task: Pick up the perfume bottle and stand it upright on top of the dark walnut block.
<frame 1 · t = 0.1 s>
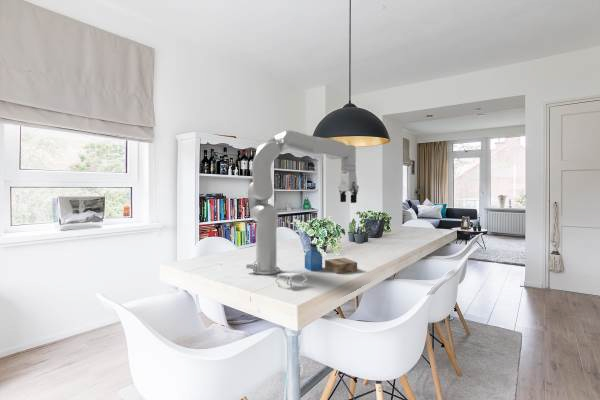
hand: (348, 202, 172), 31 cm above the table, fingers open, 9 cm apart
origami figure: (292, 286, 132), on the table
walnut block: (340, 269, 157), on the table
perfume bottle: (313, 269, 159), on the table
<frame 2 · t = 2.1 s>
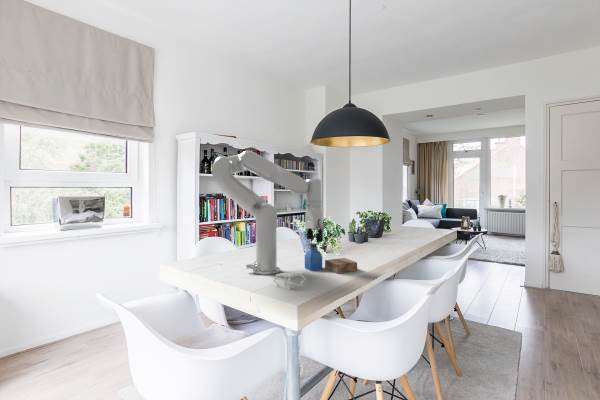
hand: (314, 240, 159), 14 cm above the table, fingers open, 9 cm apart
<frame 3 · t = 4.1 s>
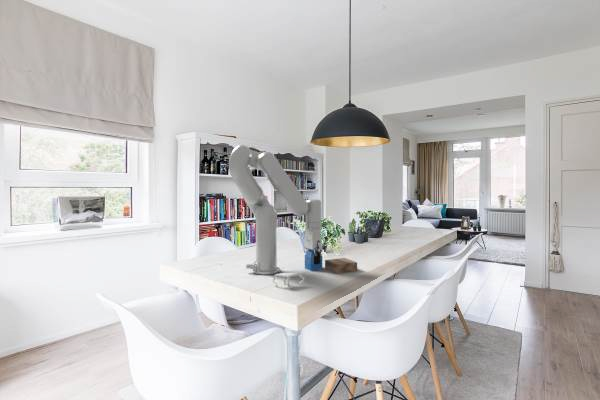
hand: (313, 262, 159), 3 cm above the table, fingers closed on perfume bottle, 6 cm apart
perfume bottle: (313, 269, 159), on the table, touching gripper
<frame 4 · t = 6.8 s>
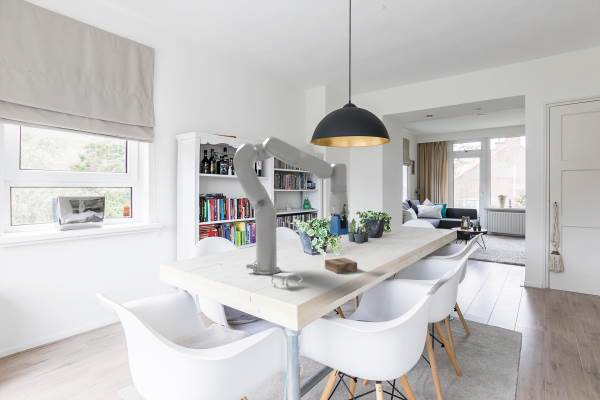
hand: (339, 227, 157), 20 cm above the table, fingers closed on perfume bottle, 6 cm apart
perfume bottle: (339, 234, 157), point 17 cm above the table, touching gripper
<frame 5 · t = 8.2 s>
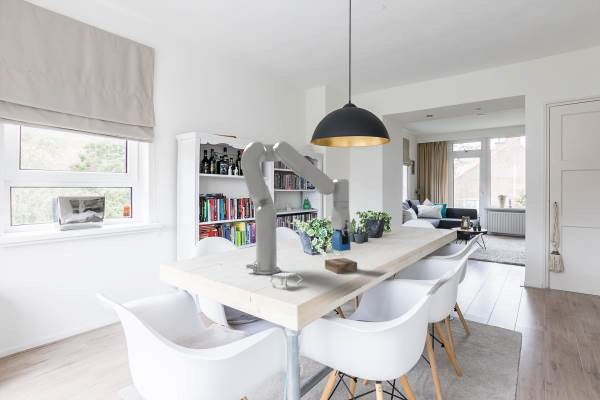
hand: (341, 242, 157), 13 cm above the table, fingers closed on perfume bottle, 6 cm apart
perfume bottle: (341, 249, 157), point 9 cm above the table, touching gripper
when the fingers open (8 cm above the table, at t = 9.5 s): perfume bottle drops 1 cm, resting on walnut block.
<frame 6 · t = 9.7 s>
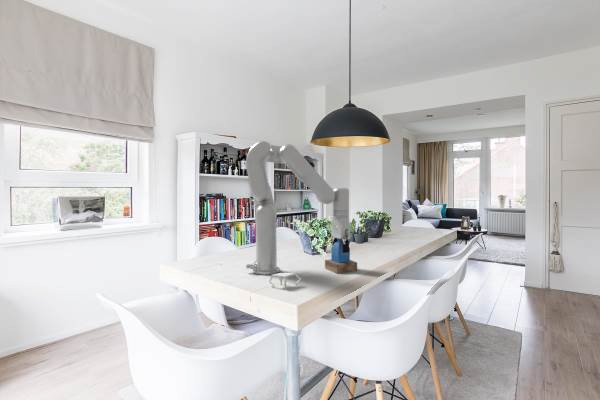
hand: (340, 250, 157), 9 cm above the table, fingers open, 8 cm apart
perfume bottle: (340, 261, 157), point 4 cm above the table, touching walnut block
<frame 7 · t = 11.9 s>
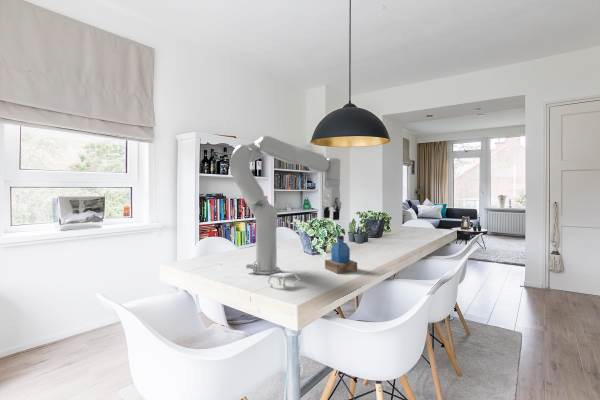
hand: (331, 218, 161), 24 cm above the table, fingers open, 9 cm apart
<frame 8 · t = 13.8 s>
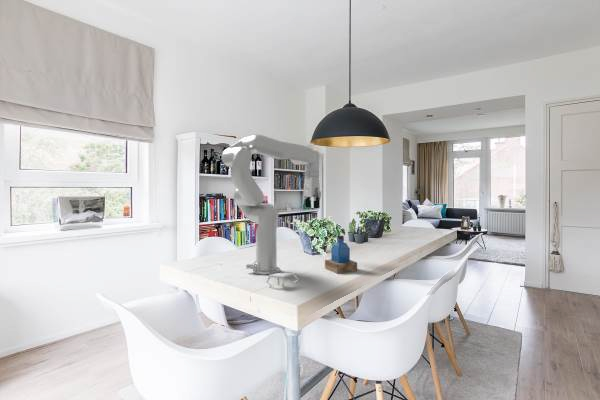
hand: (312, 207, 172), 28 cm above the table, fingers open, 9 cm apart
at the end: perfume bottle inside the target area on the walnut block (0.2 cm from its centre), point 3.8 cm above the walnut block's base; perfume bottle tilted 0°; the gripper is holding nothing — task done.
